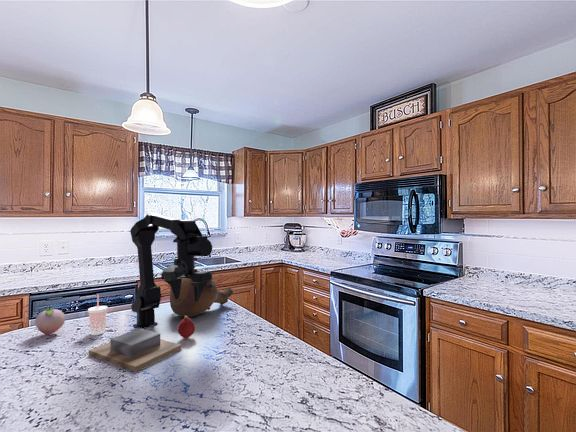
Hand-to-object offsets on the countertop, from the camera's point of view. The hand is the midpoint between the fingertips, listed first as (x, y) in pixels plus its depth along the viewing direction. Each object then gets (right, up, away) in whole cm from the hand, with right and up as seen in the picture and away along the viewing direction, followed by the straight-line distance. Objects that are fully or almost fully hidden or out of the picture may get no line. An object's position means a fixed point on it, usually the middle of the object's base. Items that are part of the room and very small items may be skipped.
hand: (186, 300), depth 105 cm
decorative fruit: (-50, -14, +3) cm, 52 cm away
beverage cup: (-34, -14, +5) cm, 37 cm away
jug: (-3, -14, +29) cm, 32 cm away
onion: (0, -14, 0) cm, 14 cm away
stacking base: (-12, -13, -11) cm, 21 cm away
